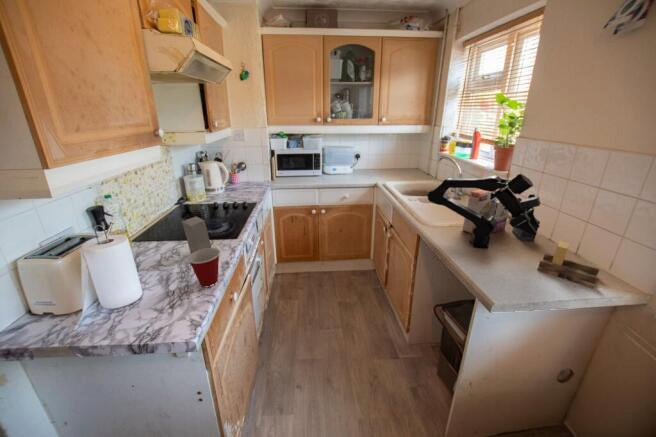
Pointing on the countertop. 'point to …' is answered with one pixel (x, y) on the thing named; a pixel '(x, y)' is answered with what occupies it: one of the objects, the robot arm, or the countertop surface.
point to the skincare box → (196, 234)
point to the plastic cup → (205, 265)
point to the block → (560, 253)
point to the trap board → (570, 271)
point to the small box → (525, 234)
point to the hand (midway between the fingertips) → (537, 230)
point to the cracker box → (477, 206)
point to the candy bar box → (498, 214)
